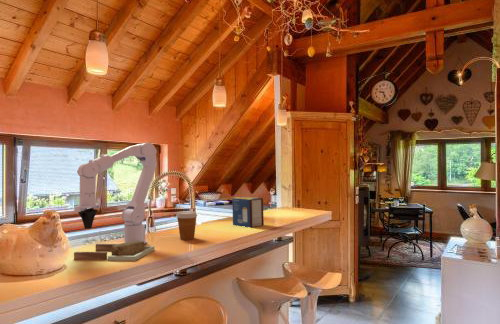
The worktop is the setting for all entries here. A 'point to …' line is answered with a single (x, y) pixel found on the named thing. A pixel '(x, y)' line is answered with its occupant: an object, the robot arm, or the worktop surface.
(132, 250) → the stone block
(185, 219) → the disposable coffee cup
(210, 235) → the worktop surface
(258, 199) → the protein box
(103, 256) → the walnut chute
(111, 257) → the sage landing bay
